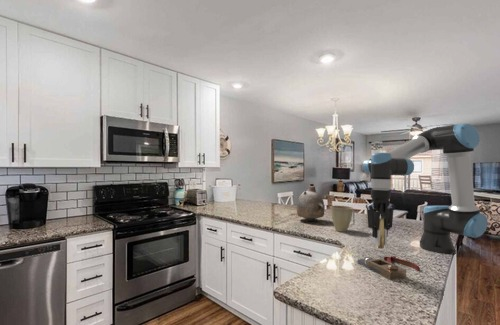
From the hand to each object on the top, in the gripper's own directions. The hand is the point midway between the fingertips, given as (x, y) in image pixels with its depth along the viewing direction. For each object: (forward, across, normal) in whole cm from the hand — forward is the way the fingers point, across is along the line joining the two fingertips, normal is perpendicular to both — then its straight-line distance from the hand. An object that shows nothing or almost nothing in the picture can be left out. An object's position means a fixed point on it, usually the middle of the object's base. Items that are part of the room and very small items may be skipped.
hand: (379, 244), depth 109 cm
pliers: (+11, -14, -4) cm, 18 cm away
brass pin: (+1, 0, 0) cm, 1 cm away
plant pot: (+10, -27, -62) cm, 69 cm away
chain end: (+10, 0, -2) cm, 11 cm away
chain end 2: (+10, 0, +3) cm, 11 cm away
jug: (+10, -22, -94) cm, 97 cm away
